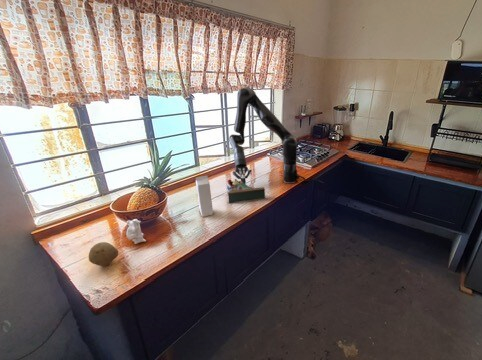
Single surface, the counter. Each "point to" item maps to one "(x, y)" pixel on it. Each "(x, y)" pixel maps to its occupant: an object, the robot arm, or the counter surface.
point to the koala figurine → (134, 231)
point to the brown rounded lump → (102, 254)
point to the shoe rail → (246, 194)
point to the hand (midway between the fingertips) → (243, 184)
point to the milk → (204, 195)
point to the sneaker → (236, 185)
